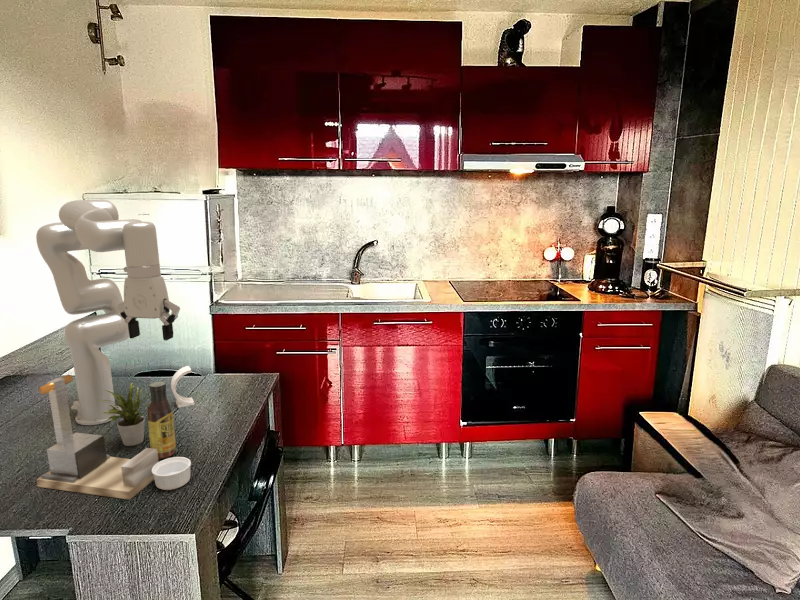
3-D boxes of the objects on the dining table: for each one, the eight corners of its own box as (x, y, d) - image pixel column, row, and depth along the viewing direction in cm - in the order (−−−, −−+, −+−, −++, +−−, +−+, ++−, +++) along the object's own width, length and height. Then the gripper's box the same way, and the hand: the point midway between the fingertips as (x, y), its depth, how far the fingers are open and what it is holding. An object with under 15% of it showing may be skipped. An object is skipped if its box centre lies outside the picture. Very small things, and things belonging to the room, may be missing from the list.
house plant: (106, 433, 159) (99, 380, 155) (158, 425, 164) (152, 373, 160) (100, 456, 146) (92, 399, 142) (157, 446, 151) (150, 391, 147)
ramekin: (153, 495, 128) (151, 478, 128) (153, 476, 136) (151, 460, 135) (193, 486, 132) (191, 470, 131) (191, 468, 140) (189, 453, 139)
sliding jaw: (50, 474, 133) (36, 387, 128) (79, 456, 141) (66, 373, 136) (79, 478, 131) (66, 389, 126) (107, 459, 140) (95, 376, 134)
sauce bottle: (167, 461, 144) (159, 390, 139) (146, 458, 145) (137, 388, 140) (181, 448, 150) (174, 380, 145) (161, 446, 151) (153, 378, 146)
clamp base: (37, 486, 132) (33, 460, 130) (79, 459, 144) (75, 435, 143) (130, 499, 127) (126, 472, 125) (165, 470, 139) (162, 445, 137)
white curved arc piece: (194, 404, 178) (191, 369, 175) (174, 408, 175) (171, 373, 173) (192, 399, 182) (188, 365, 179) (172, 403, 179) (169, 368, 176)
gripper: (102, 273, 134) (111, 340, 138) (165, 275, 131) (172, 344, 135) (124, 268, 142) (131, 332, 145) (184, 270, 138) (190, 335, 142)
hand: (151, 338), depth 140 cm, fingers open, 9 cm apart
